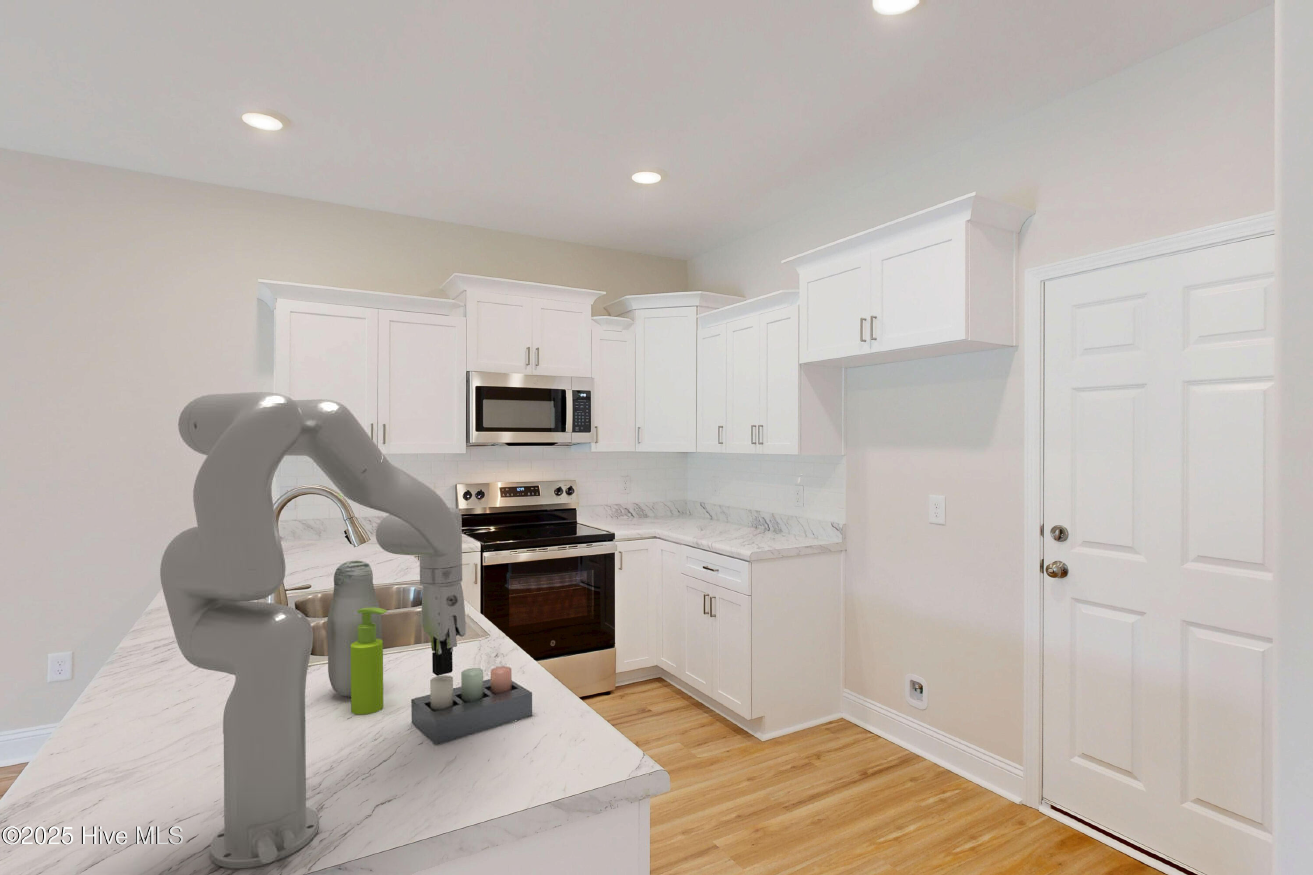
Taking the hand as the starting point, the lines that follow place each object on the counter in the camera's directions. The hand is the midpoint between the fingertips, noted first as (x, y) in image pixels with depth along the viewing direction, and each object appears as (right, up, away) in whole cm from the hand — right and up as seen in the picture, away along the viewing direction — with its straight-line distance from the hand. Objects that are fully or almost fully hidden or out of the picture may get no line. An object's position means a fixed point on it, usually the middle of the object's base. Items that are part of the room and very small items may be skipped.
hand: (442, 672), depth 124 cm
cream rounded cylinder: (0, -6, 0) cm, 6 cm away
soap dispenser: (-17, -11, +9) cm, 22 cm away
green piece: (+5, -6, +4) cm, 8 cm away
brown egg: (+9, -7, +7) cm, 14 cm away
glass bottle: (-24, -11, +16) cm, 31 cm away
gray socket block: (+5, -10, +4) cm, 12 cm away
